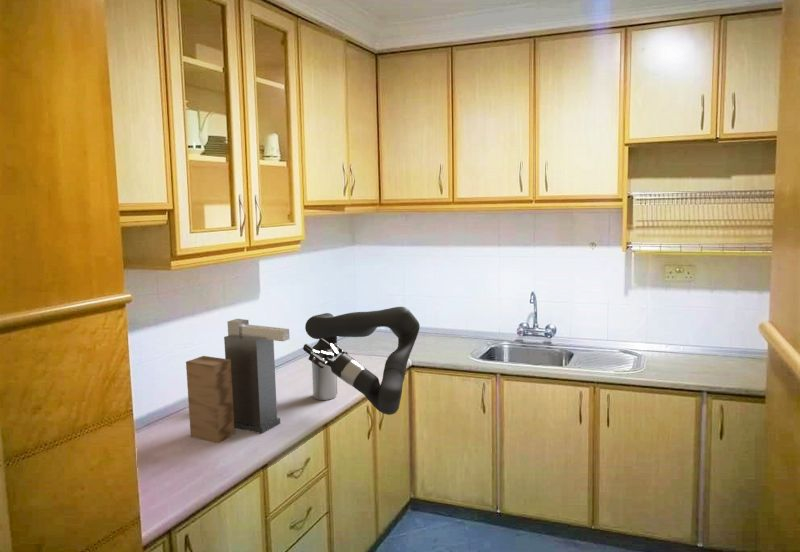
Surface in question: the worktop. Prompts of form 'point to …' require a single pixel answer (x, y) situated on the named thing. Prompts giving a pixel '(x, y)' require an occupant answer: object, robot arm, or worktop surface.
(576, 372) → the worktop surface
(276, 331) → the lever
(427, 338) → the worktop surface
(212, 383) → the block
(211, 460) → the worktop surface
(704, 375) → the worktop surface
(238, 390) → the tall dark grey pillar
